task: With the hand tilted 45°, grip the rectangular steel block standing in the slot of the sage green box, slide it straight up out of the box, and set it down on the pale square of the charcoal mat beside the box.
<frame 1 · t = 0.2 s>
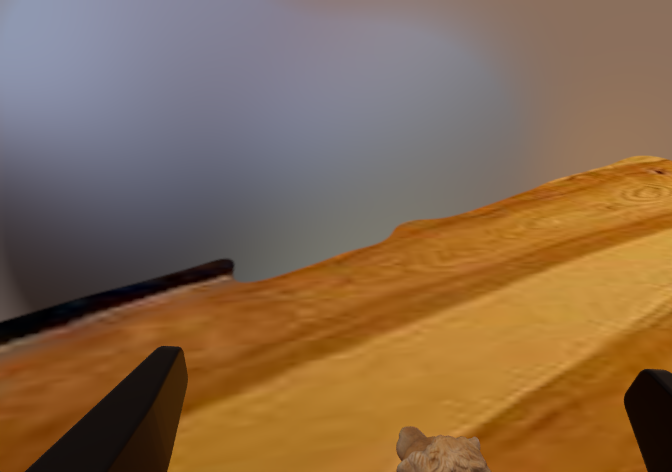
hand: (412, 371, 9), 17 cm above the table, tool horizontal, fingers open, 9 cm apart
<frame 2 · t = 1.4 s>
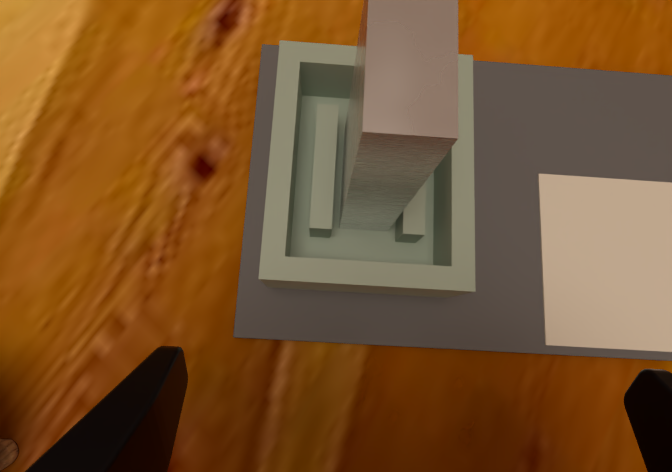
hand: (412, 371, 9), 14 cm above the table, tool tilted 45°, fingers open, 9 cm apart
storage box: (363, 187, 23), resting on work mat
rectangular steel block: (365, 181, 22), point 1 cm above the table, touching storage box
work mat: (362, 190, 24), on the table
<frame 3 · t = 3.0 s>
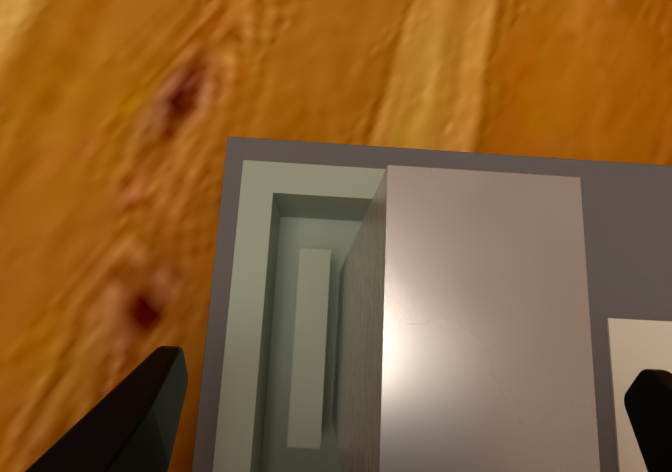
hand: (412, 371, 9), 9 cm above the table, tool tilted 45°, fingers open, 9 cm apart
storage box: (366, 343, 17), resting on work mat
rectangular steel block: (369, 344, 16), point 1 cm above the table, touching storage box
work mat: (364, 343, 17), on the table
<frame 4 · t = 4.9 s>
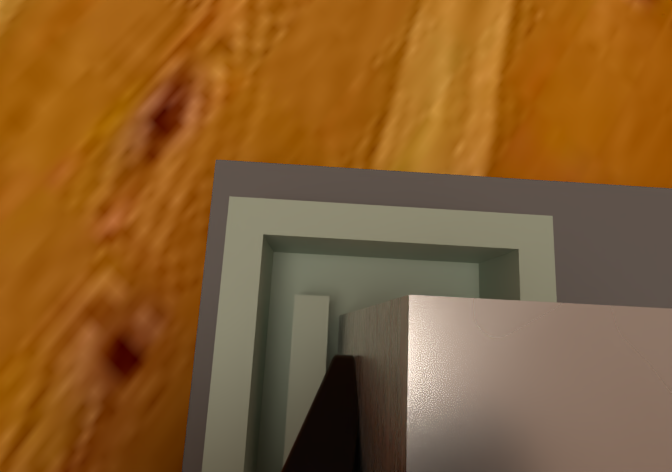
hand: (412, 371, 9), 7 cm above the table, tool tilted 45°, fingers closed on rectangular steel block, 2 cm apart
storage box: (368, 392, 15), resting on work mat
rectangular steel block: (372, 397, 14), point 1 cm above the table, touching gripper, storage box
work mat: (367, 390, 15), on the table
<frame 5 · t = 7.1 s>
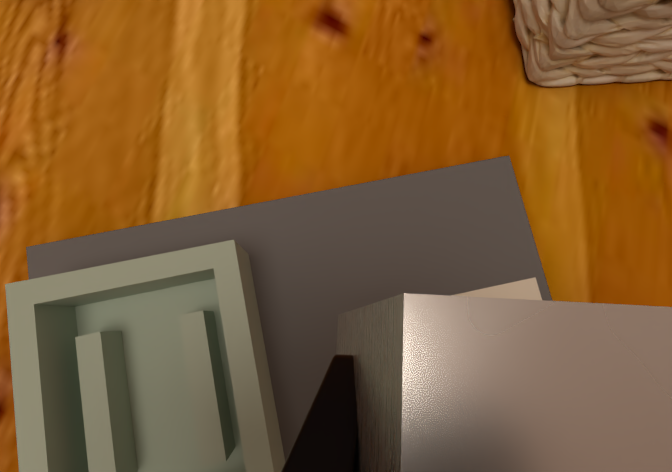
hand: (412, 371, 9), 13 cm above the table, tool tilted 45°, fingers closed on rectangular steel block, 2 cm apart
storage box: (173, 387, 21), resting on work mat
rectangular steel block: (371, 396, 14), point 8 cm above the table, touching gripper
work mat: (176, 385, 21), on the table
when the fingers open (7 cm above the table, at t = 9.7 s): rectangular steel block stays where it is, resting on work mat.
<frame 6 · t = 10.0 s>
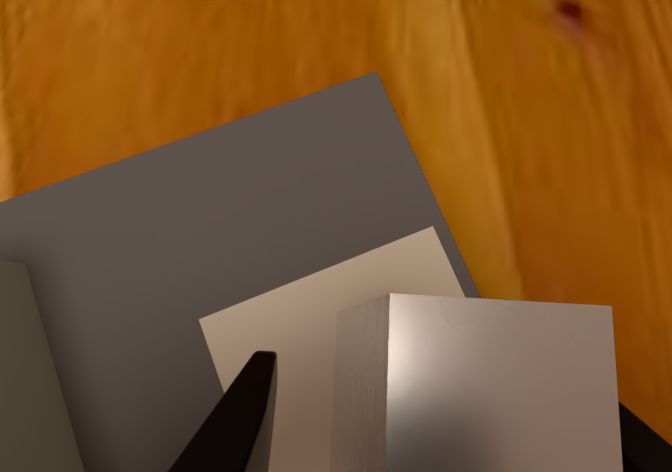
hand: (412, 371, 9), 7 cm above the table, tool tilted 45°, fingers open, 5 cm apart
rectangular steel block: (368, 389, 15), point 1 cm above the table, touching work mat
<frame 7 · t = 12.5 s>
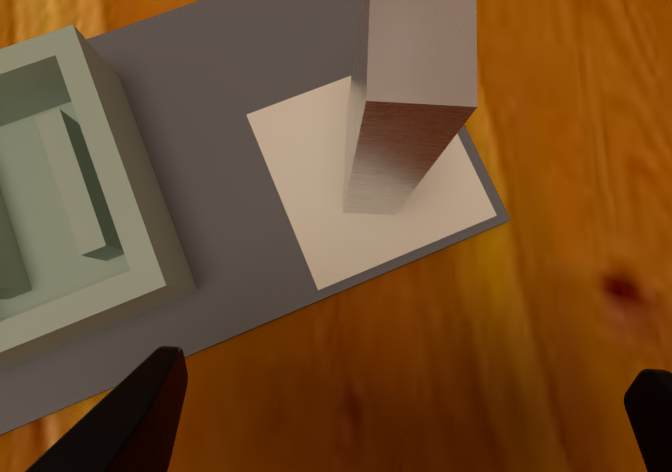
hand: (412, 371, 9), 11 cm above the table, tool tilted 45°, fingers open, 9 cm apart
storage box: (62, 216, 20), resting on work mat
rectangular steel block: (370, 162, 21), point 1 cm above the table, touching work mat
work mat: (68, 218, 20), on the table
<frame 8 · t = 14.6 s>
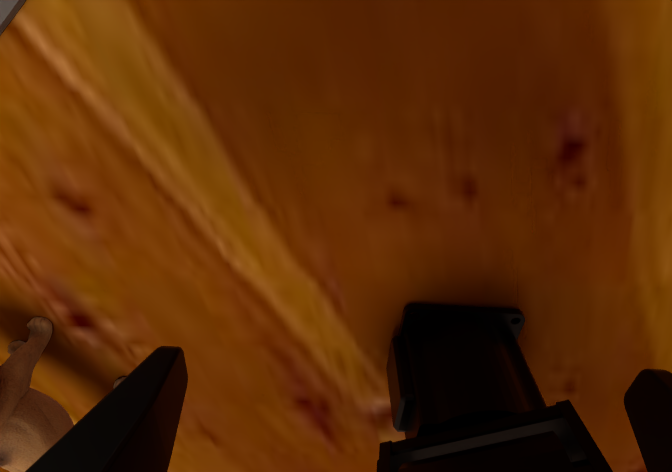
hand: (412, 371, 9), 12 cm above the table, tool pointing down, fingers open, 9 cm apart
lion figurine: (68, 363, 27), on the table
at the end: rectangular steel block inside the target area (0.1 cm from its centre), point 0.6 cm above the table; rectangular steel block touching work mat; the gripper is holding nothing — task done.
